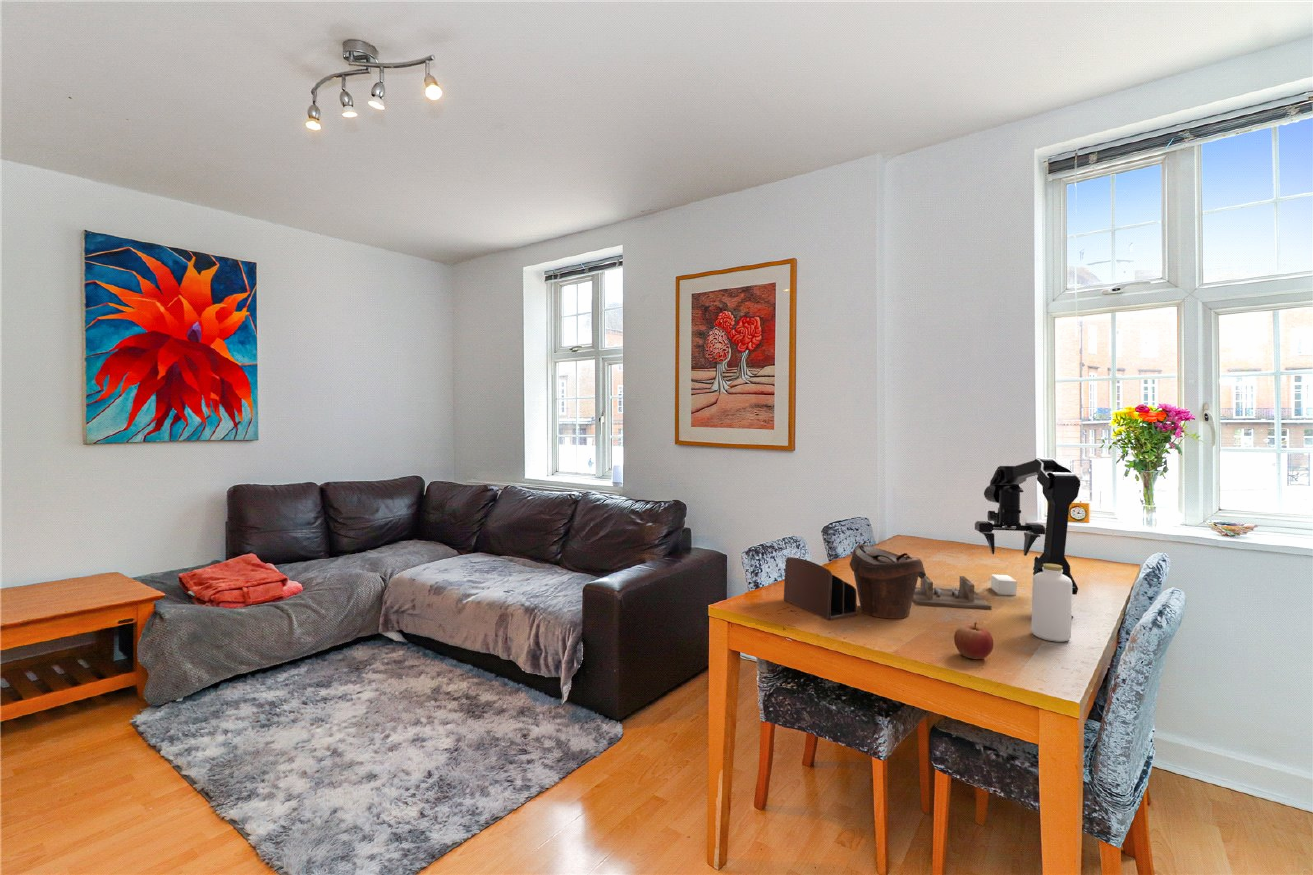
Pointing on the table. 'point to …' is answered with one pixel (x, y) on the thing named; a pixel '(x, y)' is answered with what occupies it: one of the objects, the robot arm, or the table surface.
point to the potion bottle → (1051, 604)
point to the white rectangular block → (1004, 584)
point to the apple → (973, 641)
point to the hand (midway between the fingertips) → (1008, 554)
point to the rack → (949, 595)
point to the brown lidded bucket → (885, 581)
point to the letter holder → (818, 590)
